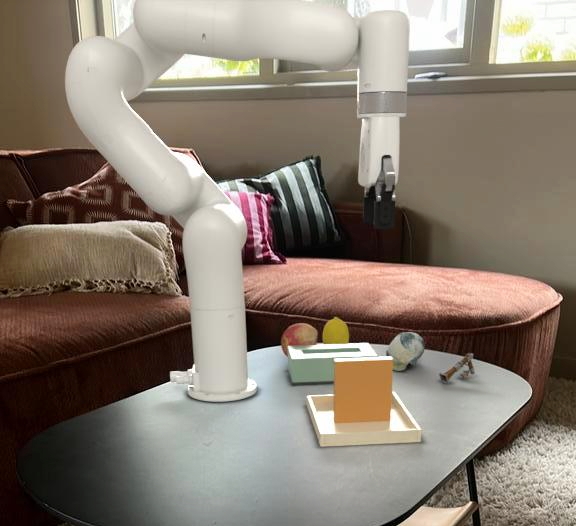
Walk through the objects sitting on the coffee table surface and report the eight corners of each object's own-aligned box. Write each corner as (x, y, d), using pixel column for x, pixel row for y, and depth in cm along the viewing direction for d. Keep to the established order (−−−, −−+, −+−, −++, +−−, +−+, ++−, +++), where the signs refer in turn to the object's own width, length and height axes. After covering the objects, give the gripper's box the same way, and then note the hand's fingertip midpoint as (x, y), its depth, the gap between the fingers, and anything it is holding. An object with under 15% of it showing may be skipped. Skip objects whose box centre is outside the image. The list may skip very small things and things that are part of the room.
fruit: (305, 370, 151) (305, 329, 148) (273, 364, 155) (272, 325, 152) (326, 361, 157) (326, 322, 153) (295, 356, 161) (295, 318, 157)
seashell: (382, 377, 151) (405, 362, 160) (415, 366, 146) (437, 351, 156) (371, 347, 150) (395, 333, 159) (404, 334, 145) (426, 321, 154)
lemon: (336, 350, 165) (336, 313, 161) (354, 355, 161) (354, 317, 157) (317, 355, 161) (317, 317, 158) (334, 360, 158) (335, 321, 154)
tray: (320, 446, 113) (320, 434, 112) (306, 406, 130) (306, 395, 130) (421, 442, 114) (421, 429, 113) (394, 402, 131) (394, 391, 131)
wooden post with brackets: (480, 371, 145) (475, 351, 142) (450, 394, 143) (445, 374, 140) (473, 369, 146) (468, 349, 143) (444, 392, 144) (438, 372, 141)
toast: (334, 423, 121) (335, 361, 117) (333, 420, 122) (333, 358, 118) (390, 420, 122) (393, 359, 117) (388, 417, 123) (391, 356, 119)
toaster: (292, 385, 142) (291, 358, 140) (287, 370, 151) (287, 345, 149) (382, 381, 143) (383, 355, 141) (372, 367, 152) (373, 342, 150)
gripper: (348, 109, 125) (347, 221, 132) (367, 105, 109) (364, 231, 117) (394, 109, 125) (390, 220, 133) (419, 104, 110) (412, 230, 117)
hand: (378, 225), depth 125 cm, fingers open, 9 cm apart
